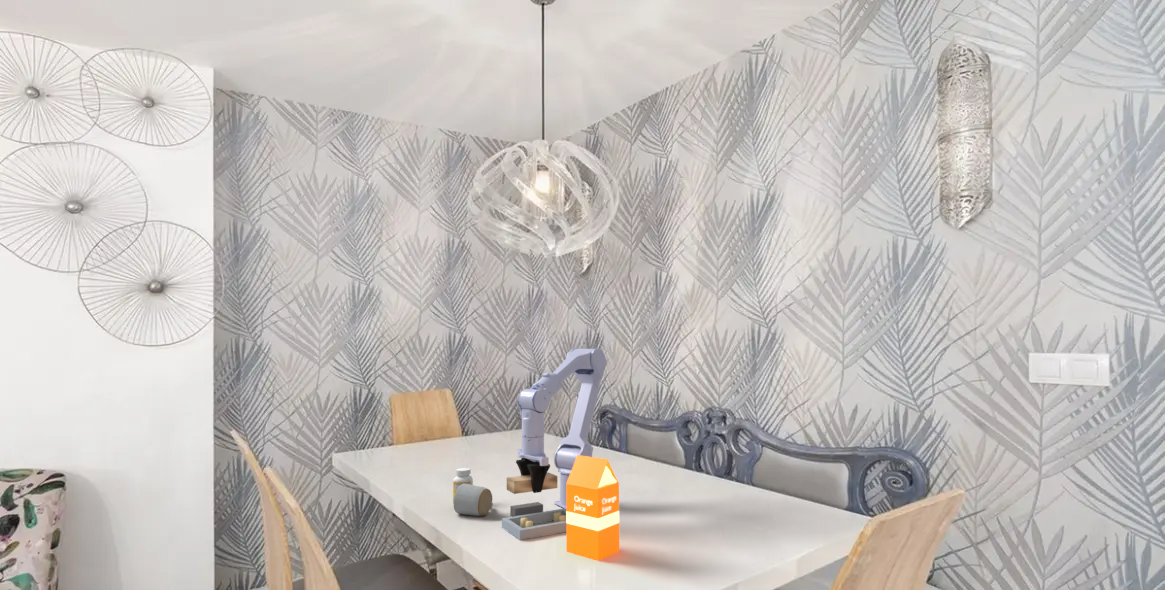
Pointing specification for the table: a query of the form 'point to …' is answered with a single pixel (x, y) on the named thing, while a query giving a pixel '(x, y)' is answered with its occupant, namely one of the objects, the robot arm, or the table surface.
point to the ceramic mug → (472, 500)
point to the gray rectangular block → (526, 509)
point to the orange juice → (592, 509)
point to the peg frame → (527, 522)
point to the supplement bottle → (461, 479)
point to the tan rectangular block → (529, 483)
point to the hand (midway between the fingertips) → (532, 489)
